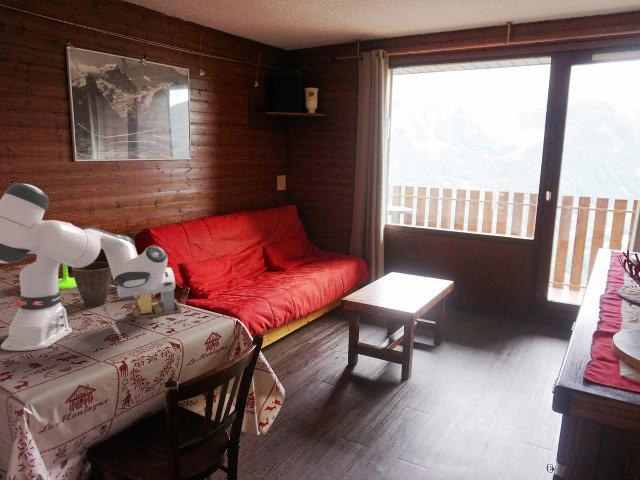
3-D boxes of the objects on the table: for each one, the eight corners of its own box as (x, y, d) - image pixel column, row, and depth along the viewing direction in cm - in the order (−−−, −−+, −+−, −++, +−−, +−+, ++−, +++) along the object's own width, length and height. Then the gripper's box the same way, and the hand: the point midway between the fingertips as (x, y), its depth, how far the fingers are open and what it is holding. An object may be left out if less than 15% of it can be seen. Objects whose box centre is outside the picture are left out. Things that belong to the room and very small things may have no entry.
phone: (153, 299, 199) (116, 305, 190) (153, 301, 199) (116, 308, 190) (146, 294, 205) (110, 300, 196) (147, 297, 205) (110, 303, 196)
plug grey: (174, 311, 184) (173, 286, 182) (164, 313, 182) (163, 288, 180) (171, 308, 187) (170, 284, 185) (161, 310, 185) (160, 285, 183)
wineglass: (51, 280, 224) (48, 243, 221) (88, 278, 229) (85, 242, 226) (42, 289, 209) (39, 250, 206) (82, 287, 214) (79, 249, 211)
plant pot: (67, 309, 185) (64, 270, 182) (84, 297, 200) (82, 261, 197) (105, 310, 186) (103, 271, 183) (120, 298, 201) (118, 262, 198)
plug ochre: (151, 312, 179) (150, 286, 177) (140, 313, 177) (139, 288, 175) (149, 309, 182) (148, 284, 180) (138, 310, 180) (137, 285, 178)
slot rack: (181, 315, 183) (181, 305, 182) (137, 322, 174) (136, 312, 173) (174, 308, 190) (174, 299, 190) (131, 315, 182) (131, 305, 181)
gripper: (120, 288, 162) (116, 307, 172) (179, 281, 173) (172, 300, 183) (117, 273, 165) (113, 292, 175) (175, 267, 176) (169, 286, 186)
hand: (144, 296), depth 179 cm, fingers open, 4 cm apart
